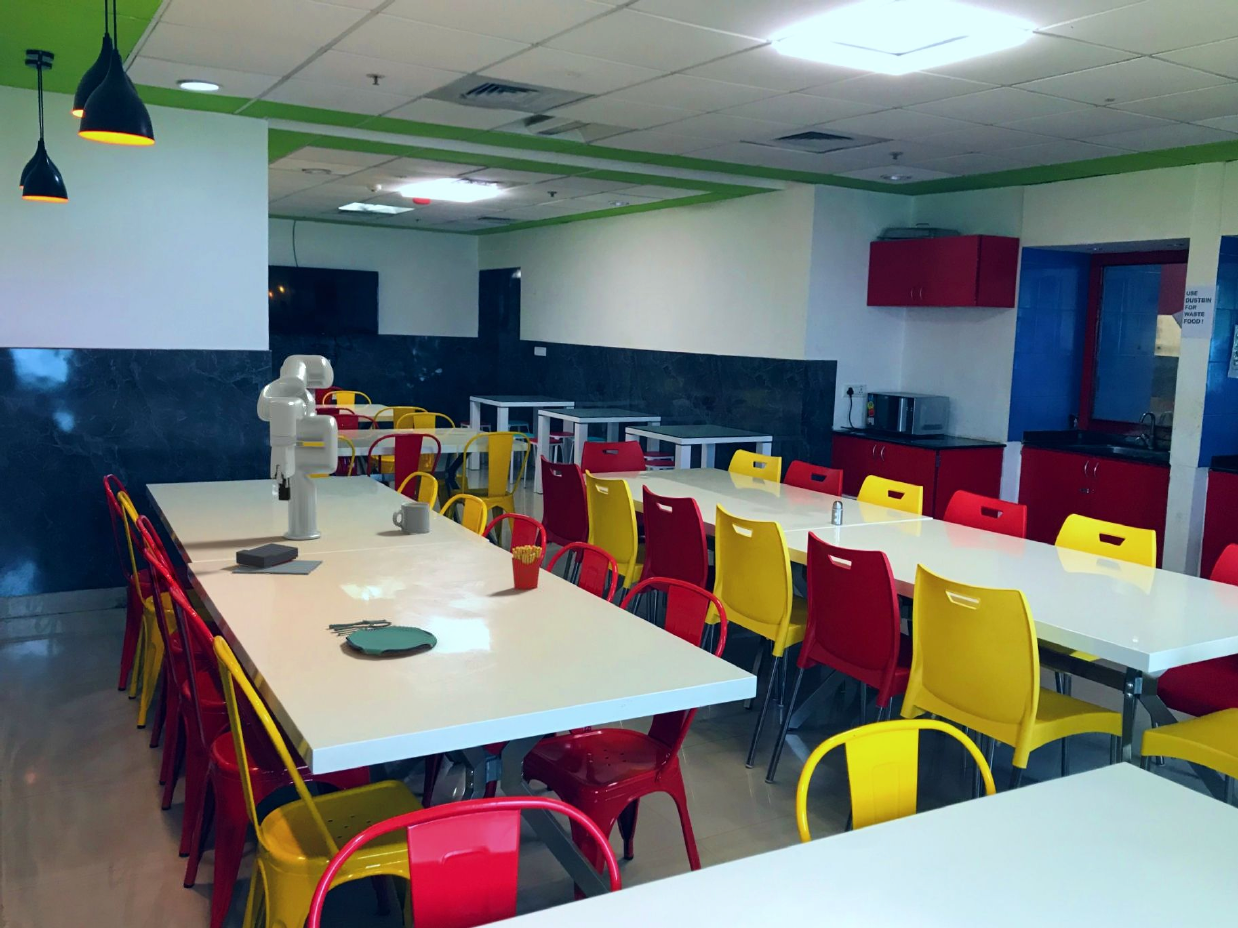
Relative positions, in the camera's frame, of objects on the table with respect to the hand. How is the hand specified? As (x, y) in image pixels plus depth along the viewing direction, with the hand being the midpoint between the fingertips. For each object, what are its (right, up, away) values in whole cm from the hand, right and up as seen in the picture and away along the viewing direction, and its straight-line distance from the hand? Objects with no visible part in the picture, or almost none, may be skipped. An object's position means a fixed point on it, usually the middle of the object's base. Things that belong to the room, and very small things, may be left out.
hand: (284, 499), depth 310 cm
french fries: (+76, -25, -21) cm, 83 cm away
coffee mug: (+27, -14, +55) cm, 63 cm away
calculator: (-2, -16, +6) cm, 17 cm away
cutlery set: (+47, -31, -72) cm, 91 cm away
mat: (0, -20, -5) cm, 21 cm away
